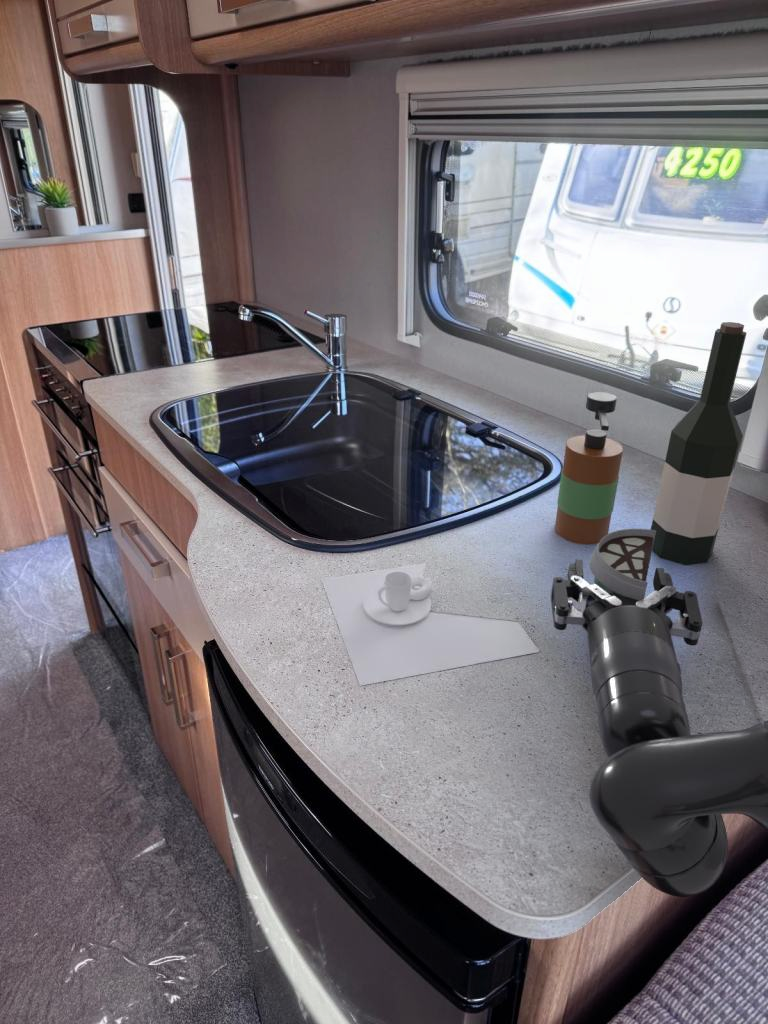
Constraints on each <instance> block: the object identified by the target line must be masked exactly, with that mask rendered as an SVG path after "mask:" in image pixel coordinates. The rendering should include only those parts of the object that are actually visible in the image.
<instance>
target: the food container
mask: <svg viewBox="0 0 768 1024" xmlns="http://www.w3.org/2000/svg"><path fill="white" fill-rule="evenodd" d="M655 534H656V531H655V530H651V529H646V528H626V529H625V528H623V529H619V530H615V531H612V532H610V533H608V534H607V535H606V536H604V537H603V538H602V539H601V540H600V542H599V543H597V544H595V545H596V546H595V548H594V550H593V552H592V554H591V556H590V558H589V568H590V571H591V573H592V574H593V576H594V577H593V578H594V579H593V584H596V585H598V586H599V587H600V588H602V589H603V590H604V591H606V592H607V593H608V594H609V593H614V594H620V595H622V596H626V597H630V598H633V599H636V600H640V599H644V598H646V592H647V588H648V587H647V586H648V581H647V577H648V572H649V568H650V562H651V558H652V554H653V553H652V552H653V551H652V548H653V544H654V539H655ZM596 600H597V599H595V601H596Z"/></svg>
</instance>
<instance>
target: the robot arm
mask: <svg viewBox="0 0 768 1024" xmlns="http://www.w3.org/2000/svg"><path fill="white" fill-rule="evenodd" d="M584 576H585V575H584V565H583V559H578V558H577V559H575V560H574V563H573V562H571V563H569V565H568V569H567V576H566V577H567V579H565V578H563V577H560V576H556V577H553V579H552V584H551V585H552V586H551V593H550V604H551V605H550V606H551V613H552V620H553V628H555V629H556V630H558V631H565V630H566V629H567V627H568V626H567V625H577V626H581V627H582V628H583V630H585V631H586V633H587V642H588V653H589V666H590V675H591V685H592V692H593V694H594V697H595V701H596V709H597V711H596V712H597V720H598V721H597V722H598V731H599V737H600V741H601V743H602V747H603V750H604V752H605V755H606V757H607V758H606V759H605V761H604V762H602V764H601V765H600V766H599V767H598V768H597V770H596V771H595V773H594V775H593V777H592V780H591V782H590V786H589V791H588V792H589V793H588V795H589V802H590V806H591V809H592V812H593V814H594V816H595V818H596V820H597V821H598V823H599V824H600V826H601V827H602V828H603V829H604V831H605V832H606V833H607V835H608V836H609V837H610V839H611V840H612V841H613V842H614V844H615V845H616V846H617V848H618V849H619V850H620V852H621V853H622V854H623V856H624V857H625V858H626V859H627V861H628V862H629V864H630V866H632V867H633V868H634V870H635V871H636V872H637V874H638V875H639V876H640V877H641V878H642V880H644V881H645V882H646V883H647V884H649V886H651V887H652V888H654V889H655V890H657V891H659V892H661V893H663V894H666V895H669V896H671V897H677V898H688V897H693V896H698V895H699V894H702V893H704V892H705V891H707V890H709V889H710V888H711V887H713V886H714V884H715V883H716V882H717V881H718V879H719V878H720V877H721V875H722V873H723V872H724V869H725V866H726V864H727V863H726V862H727V859H728V852H729V843H728V842H729V841H728V832H727V828H726V823H725V821H724V817H723V815H727V814H732V815H733V814H736V815H737V814H739V815H743V816H746V817H748V818H750V819H751V820H753V821H754V822H756V823H757V824H758V825H759V826H761V827H762V828H763V829H764V830H766V831H767V832H768V720H765V721H763V723H762V722H759V723H758V724H754V725H752V726H750V727H747V728H744V729H739V730H731V731H716V732H715V731H714V732H706V733H705V732H704V733H697V734H691V726H690V721H689V717H688V712H687V708H686V705H685V701H684V695H683V681H682V670H681V669H682V668H681V665H680V663H679V661H678V659H677V655H676V651H675V646H674V642H673V638H672V637H680V638H683V642H684V643H685V644H686V645H688V646H692V647H694V646H697V645H698V642H699V639H700V636H701V633H702V632H701V631H702V627H703V624H704V623H703V619H702V614H701V609H700V605H699V600H698V595H697V593H696V592H694V591H692V590H685V591H684V592H681V591H678V588H677V587H676V586H674V583H673V578H672V576H671V574H670V573H669V572H665V569H664V567H655V571H654V575H653V579H652V586H653V590H654V591H652V592H651V593H649V594H648V595H647V596H645V597H644V599H640V600H636V599H633V598H630V597H626V596H622V595H620V594H614V593H609V594H608V593H607V592H606V591H604V590H603V589H602V588H600V587H599V586H598V585H596V584H594V583H589V582H588V581H587V580H585V579H584ZM595 599H597V600H596V601H595ZM574 605H576V606H577V607H578V608H579V610H578V609H577V608H576V607H575V606H574ZM673 610H675V611H679V612H678V613H679V617H678V618H677V621H675V622H673V620H672V619H671V617H670V616H669V615H668V614H669V613H670V612H672V611H673Z"/></svg>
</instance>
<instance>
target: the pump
mask: <svg viewBox="0 0 768 1024" xmlns="http://www.w3.org/2000/svg"><path fill="white" fill-rule="evenodd" d="M617 399H618V398H617V396H616V395H614V394H612V393H609V392H604V391H595V392H589V393H588V394H587V396H586V403H585V408H586V410H588V411H589V412H592V413H594V419H595V420H596V421H599V425H600V430H602V431H604V432H606V431H609V428H610V425H609V421H608V416H607V414H612V413H613V412H615V410H616V406H617Z"/></svg>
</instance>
